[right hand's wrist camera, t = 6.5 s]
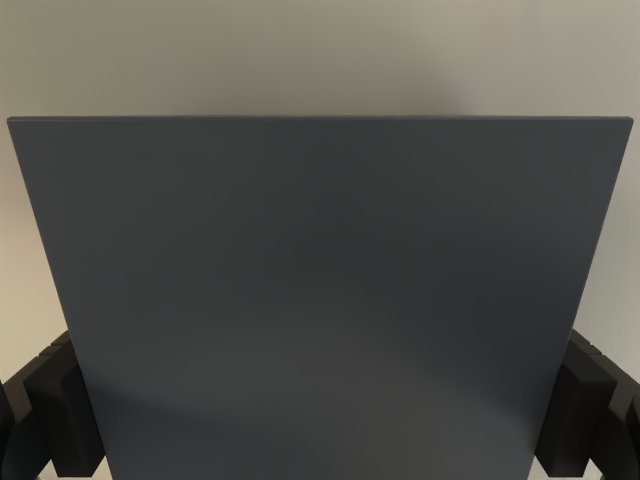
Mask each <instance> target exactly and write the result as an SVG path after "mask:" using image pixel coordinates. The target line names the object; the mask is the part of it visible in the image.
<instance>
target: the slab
mask: <svg viewBox="0 0 640 480" xmlns="http://www.w3.org/2000/svg"><path fill="white" fill-rule="evenodd" d="M633 122H634V121H633V118H631V117H609V116H264V115H167V116H11V117H9V118H7V125H8V128H9V131H10V135H11V138H12V141H13V145H14V148H15V152H16V155H17V158H18V162H19V165H20V168H21V172H22V175H23V178H24V182H25V185H26V189H27V192H28V195H29V199H30V202H31V205H32V209H33V212H34V216H35V219H36V222H37V226H38V229H39V232H40V236H41V239H42V243H43V246H44V249H45V253H46V256H47V259H48V263H49V266H50V270H51V273H52V276H53V280H54V283H55V286H56V290H57V293H58V297H59V300H60V303H61V307H62V310H63V313H64V317H65V320H66V323H67V327H68V330H69V334H70V337H71V340H72V344H73V347H74V350H75V354H76V357H77V361H78V364H79V367H80V371H81V374H82V377H83V381H84V384H85V388H86V391H87V394H88V398H89V401H90V404H91V408H92V411H93V415H94V418H95V421H96V425H97V428H98V431H99V435H100V438H101V441H102V445H103V448H104V452H105V455H106V458H107V462H108V465H109V468H110V472H111V475H112V479H113V480H527V479H528V475H529V472H530V468H531V465H532V462H533V458H534V455H535V452H536V448H537V445H538V442H539V438H540V435H541V431H542V428H543V425H544V421H545V418H546V415H547V411H548V408H549V405H550V401H551V398H552V394H553V391H554V388H555V384H556V381H557V378H558V374H559V371H560V368H561V364H562V361H563V357H564V354H565V351H566V347H567V344H568V341H569V337H570V334H571V331H572V327H573V324H574V320H575V317H576V314H577V310H578V307H579V304H580V300H581V297H582V294H583V290H584V287H585V283H586V280H587V277H588V273H589V270H590V267H591V263H592V260H593V257H594V253H595V250H596V246H597V243H598V240H599V236H600V233H601V230H602V226H603V223H604V219H605V216H606V213H607V209H608V206H609V203H610V199H611V196H612V193H613V189H614V186H615V182H616V179H617V176H618V172H619V169H620V166H621V162H622V159H623V156H624V152H625V149H626V145H627V142H628V139H629V135H630V132H631V129H632V125H633Z"/></svg>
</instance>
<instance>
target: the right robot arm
mask: <svg viewBox="0 0 640 480" xmlns="http://www.w3.org/2000/svg"><path fill="white" fill-rule="evenodd" d="M104 456H105V452H104V448H103V445H102V441H101V438H100V435H99V431H98V428H97V425H96V421H95V418H94V415H93V411H92V408H91V404H90V401H89V398H88V394H87V391H86V388H85V384H84V381H83V377H82V374H81V371H80V367H79V364H78V361H77V357H76V354H75V350H74V347H73V344H72V340H71V337H70V334H69V330H67V331H65V332H64V333H63V334H62V335H61V336H59V337H58V338H57V339H56V340H55V341H53V342H52V343H51V346H48V347H46V348H45V349H44V350H43V351H42V352H41V353H39V356H38V357H35V358H33V359H32V360H31V361H30V362H29V363H28V364H26V365H25V366H24V367H23V368H22V369H21V370H19V371H18V372H17V373H16V374H15V375H14V376H12V377H11V378H10V379H9V380H8V381H6V382H5V383H4V384H3V385H2V383H1V381H0V480H40V478H39V476H38V475H39V474H40V472H41V471H42V470H43V469H44V467H45V466H46V465H47V463H48V462H49V461H50V460H52V463H53V465H54V468H55V471H56V473H57V476H58V477H92V475H93V474H94V472H95V471H96V469H97V467H98V466H99V464H100V463H101V461H102V460H103V458H104ZM535 456H536V458H537V459H538V461H539V462H540V464H541V466H542V467H543V469H544V470H545V472H546V473H547V475H548V477H583V474H584V471H585V469H586V466H587V463H588V461H589V458H590V459H591V460H592V461H593V462H594V464H595V465H596V466H597V467H598V469H599V470H600V471H601V473H602V476H601V478H600V480H640V384H638V383H637V382H636V381H635V380H634V379H632V378H631V377H630V376H629V375H628V374H627V373H625V372H624V371H623V370H622V369H621V368H619V367H618V366H617V365H616V364H615V363H613V362H612V361H611V360H610V359H609V358H608V357H606V356H605V355H602V352H600V351H599V350H598V349H597V348H596V347H595V346H593V345H590V342H589V341H587V340H586V339H585V338H584V337H583V336H582V335H580V334H579V333H578V332H577V331H576V330H574V329H572V331H571V334H570V337H569V341H568V344H567V347H566V351H565V354H564V357H563V361H562V364H561V368H560V371H559V374H558V378H557V381H556V384H555V388H554V391H553V394H552V398H551V401H550V405H549V408H548V411H547V415H546V418H545V421H544V425H543V428H542V431H541V435H540V438H539V442H538V445H537V448H536V452H535Z"/></svg>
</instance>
